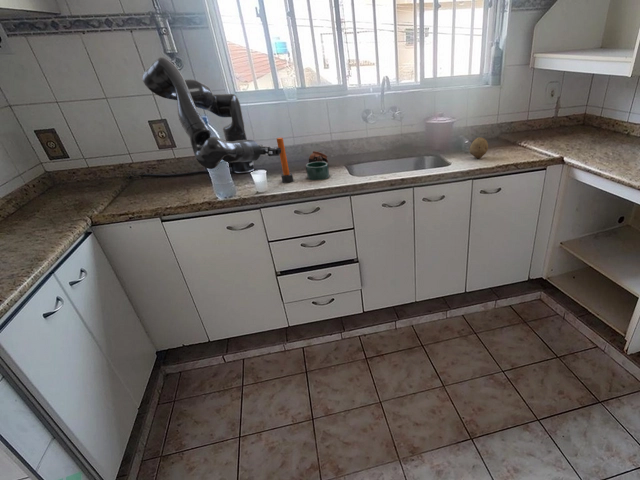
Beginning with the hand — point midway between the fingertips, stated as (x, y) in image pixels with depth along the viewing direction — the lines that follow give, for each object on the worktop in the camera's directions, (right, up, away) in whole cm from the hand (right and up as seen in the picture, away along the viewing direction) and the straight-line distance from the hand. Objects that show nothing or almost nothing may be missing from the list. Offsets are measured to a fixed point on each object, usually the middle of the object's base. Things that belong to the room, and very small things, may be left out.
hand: (271, 149), depth 156 cm
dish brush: (+3, -9, +14) cm, 17 cm away
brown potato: (+92, +9, +37) cm, 100 cm away
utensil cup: (+15, -5, +19) cm, 25 cm away
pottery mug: (+13, +4, +32) cm, 35 cm away
